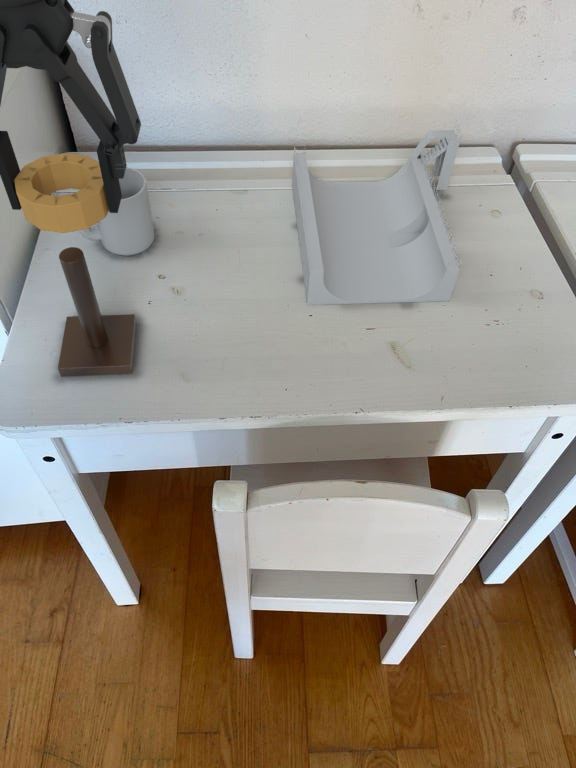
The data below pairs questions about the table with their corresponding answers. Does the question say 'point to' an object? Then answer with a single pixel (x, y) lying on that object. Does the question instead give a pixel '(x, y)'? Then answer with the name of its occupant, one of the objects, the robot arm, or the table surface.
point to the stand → (92, 328)
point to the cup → (127, 219)
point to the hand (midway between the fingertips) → (68, 202)
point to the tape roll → (66, 209)
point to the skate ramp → (378, 232)
